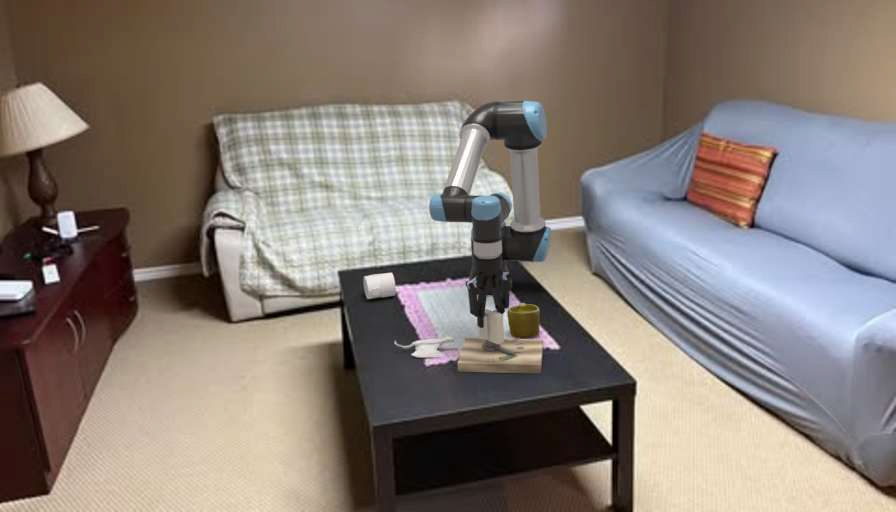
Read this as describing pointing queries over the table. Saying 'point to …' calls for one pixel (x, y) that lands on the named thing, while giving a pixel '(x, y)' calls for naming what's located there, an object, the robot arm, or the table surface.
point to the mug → (524, 320)
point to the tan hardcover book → (502, 356)
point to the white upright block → (494, 332)
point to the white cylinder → (379, 285)
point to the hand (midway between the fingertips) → (490, 335)
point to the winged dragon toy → (427, 347)
